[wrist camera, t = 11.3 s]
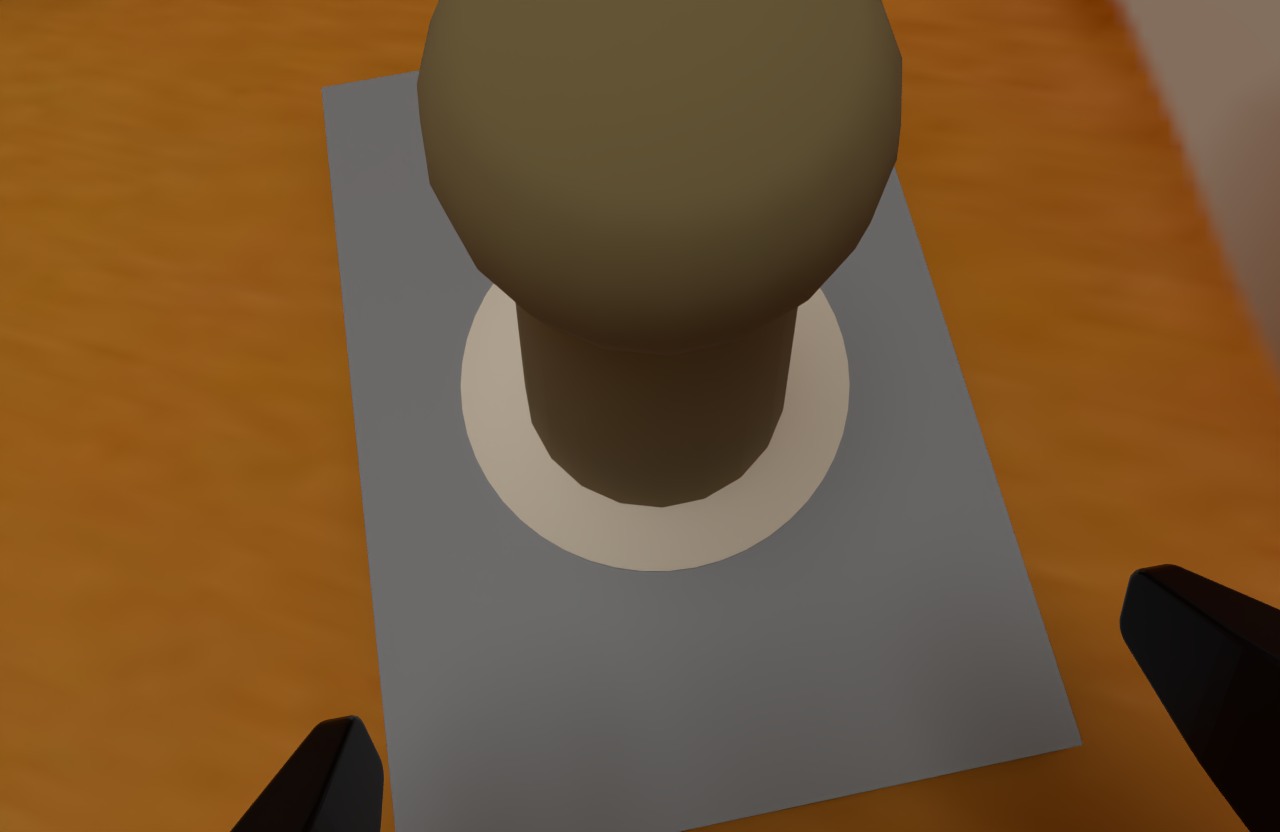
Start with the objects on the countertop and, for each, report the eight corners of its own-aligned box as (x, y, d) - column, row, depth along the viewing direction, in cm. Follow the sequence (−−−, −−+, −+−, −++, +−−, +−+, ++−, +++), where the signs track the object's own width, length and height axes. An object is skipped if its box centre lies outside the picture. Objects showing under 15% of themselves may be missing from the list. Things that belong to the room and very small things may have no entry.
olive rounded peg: (618, 216, 18) (572, -332, 8) (833, 340, 17) (1116, -87, 7) (472, 415, 17) (181, 84, 7) (696, 560, 16) (783, 454, 6)
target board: (1062, 738, 16) (1085, 745, 15) (413, 877, 16) (399, 892, 15) (832, 19, 21) (839, -6, 20) (333, 107, 20) (319, 84, 20)
